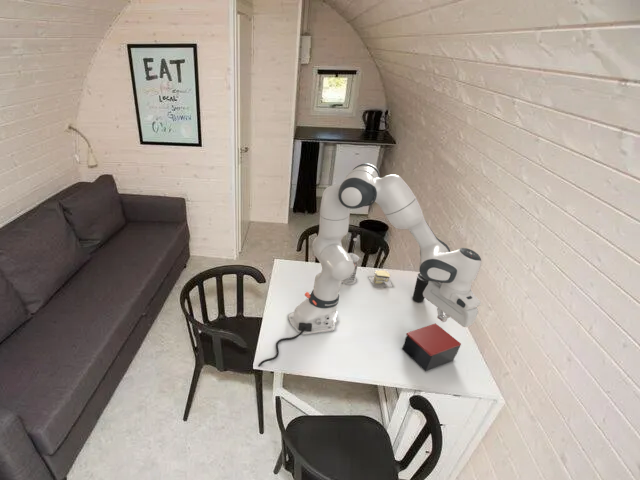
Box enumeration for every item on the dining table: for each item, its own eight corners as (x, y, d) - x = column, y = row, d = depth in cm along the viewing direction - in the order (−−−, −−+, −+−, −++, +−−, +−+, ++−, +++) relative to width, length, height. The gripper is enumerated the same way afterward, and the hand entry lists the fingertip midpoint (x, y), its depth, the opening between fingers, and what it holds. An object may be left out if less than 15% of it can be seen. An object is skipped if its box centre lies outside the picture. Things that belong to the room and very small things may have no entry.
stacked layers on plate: (374, 287, 184) (376, 278, 181) (368, 277, 192) (370, 268, 189) (393, 286, 184) (395, 278, 181) (386, 277, 192) (389, 268, 189)
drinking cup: (419, 306, 171) (432, 272, 160) (406, 298, 177) (417, 264, 166) (429, 301, 175) (442, 267, 164) (415, 293, 180) (427, 260, 169)
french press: (358, 284, 186) (368, 243, 172) (336, 284, 186) (344, 243, 172) (353, 273, 194) (362, 233, 181) (332, 274, 194) (339, 233, 180)
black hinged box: (425, 371, 138) (432, 355, 133) (402, 349, 148) (407, 333, 143) (453, 360, 143) (460, 345, 138) (428, 339, 152) (434, 324, 148)
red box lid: (430, 356, 133) (431, 354, 133) (406, 334, 143) (406, 332, 142) (460, 345, 138) (461, 343, 137) (434, 324, 147) (435, 323, 147)
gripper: (425, 276, 134) (414, 305, 142) (472, 309, 118) (457, 339, 126) (437, 273, 136) (426, 301, 144) (485, 305, 120) (470, 335, 128)
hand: (441, 319), depth 135 cm, fingers closed
